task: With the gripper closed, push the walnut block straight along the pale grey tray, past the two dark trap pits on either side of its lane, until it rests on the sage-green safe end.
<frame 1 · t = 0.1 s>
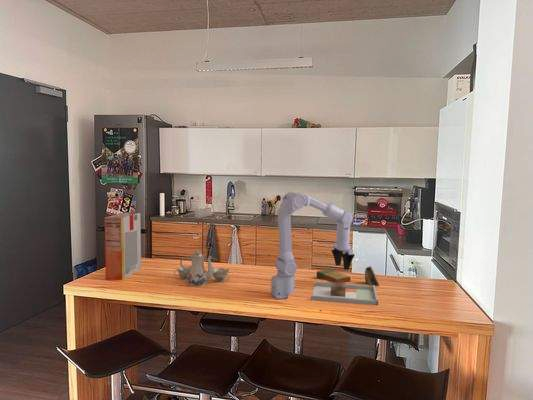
hand: (342, 267, 170), 10 cm above the table, tool pointing down, fingers open, 7 cm apart
pasta box: (124, 273, 193), on the table
carton: (332, 282, 183), on the table
chinaware: (200, 282, 180), on the table
rock: (372, 286, 177), on the table
trap tray: (344, 297, 159), on the table
walnut block: (338, 293, 160), point 1 cm above the table, touching trap tray
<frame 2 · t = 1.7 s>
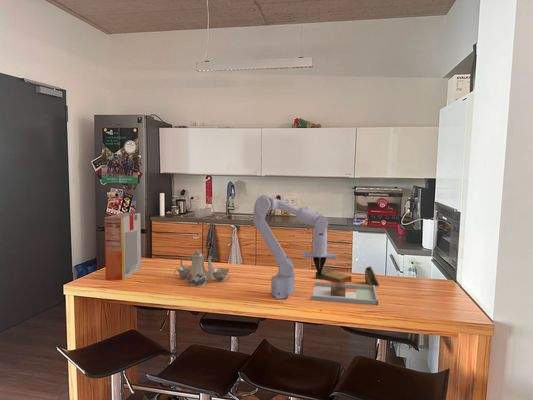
hand: (319, 274, 161), 9 cm above the table, tool pointing down, fingers closed
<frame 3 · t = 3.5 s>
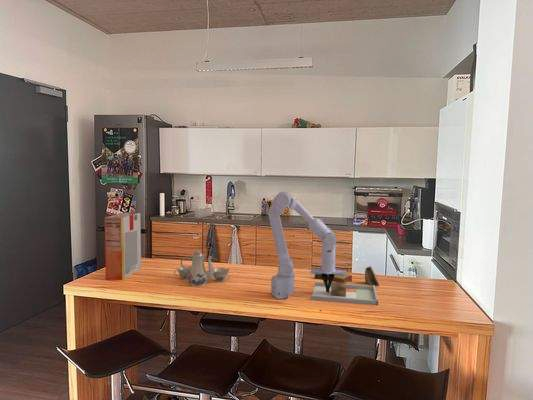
hand: (327, 291, 161), 2 cm above the table, tool pointing down, fingers closed
walnut block: (338, 293, 160), point 2 cm above the table, touching gripper
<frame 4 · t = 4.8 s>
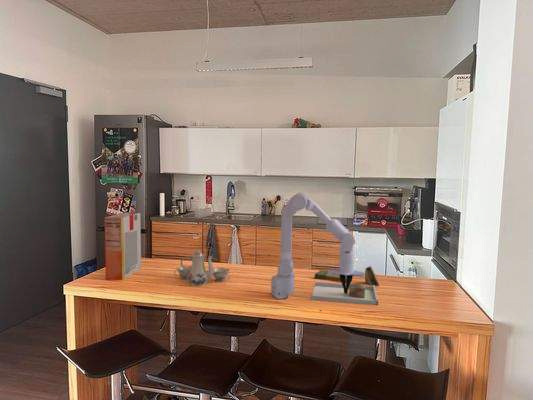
hand: (345, 292, 159), 2 cm above the table, tool pointing down, fingers closed
walnut block: (356, 295, 158), point 2 cm above the table, touching gripper
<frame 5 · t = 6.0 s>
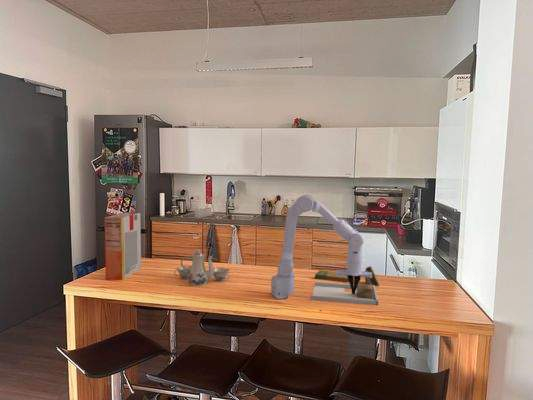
hand: (353, 293, 158), 2 cm above the table, tool pointing down, fingers closed
walnut block: (364, 295, 158), point 1 cm above the table, touching gripper, trap tray
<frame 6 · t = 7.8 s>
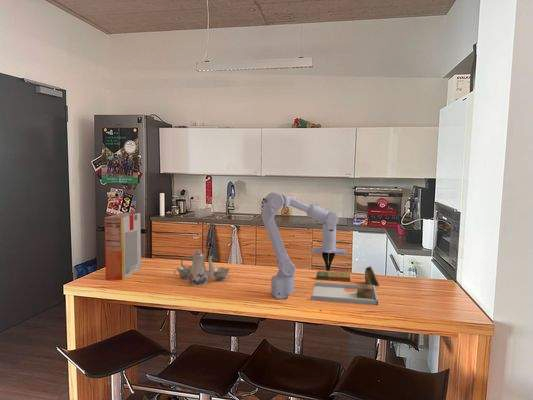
hand: (328, 270, 164), 10 cm above the table, tool pointing down, fingers closed
walnut block: (364, 295, 158), point 1 cm above the table, touching trap tray
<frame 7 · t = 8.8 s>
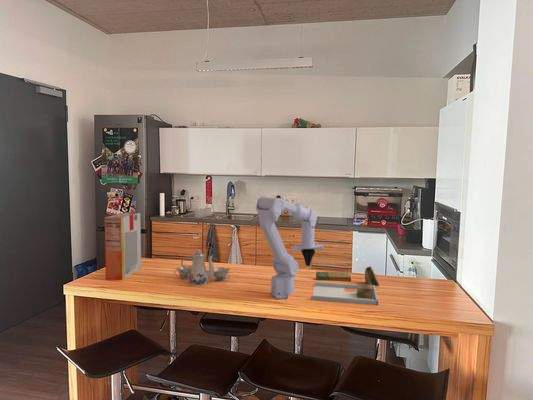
hand: (307, 265, 172), 10 cm above the table, tool pointing down, fingers closed
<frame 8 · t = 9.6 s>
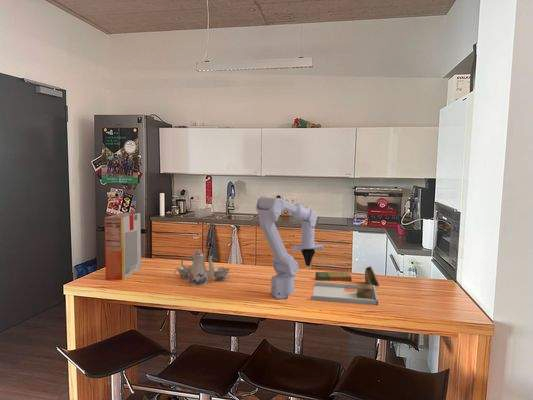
hand: (307, 265, 172), 10 cm above the table, tool pointing down, fingers closed
at the end: walnut block 0.2 cm from the target spot, point 1.5 cm above the table; walnut block tilted 0° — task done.
